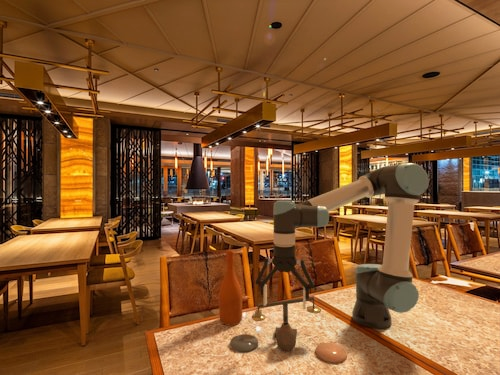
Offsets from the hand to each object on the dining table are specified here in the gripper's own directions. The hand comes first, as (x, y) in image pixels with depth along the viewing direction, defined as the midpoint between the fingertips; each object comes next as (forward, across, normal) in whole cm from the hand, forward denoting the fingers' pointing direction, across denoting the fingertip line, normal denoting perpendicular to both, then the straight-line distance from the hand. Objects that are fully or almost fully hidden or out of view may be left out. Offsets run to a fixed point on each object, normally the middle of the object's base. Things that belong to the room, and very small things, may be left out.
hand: (284, 306), depth 97 cm
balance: (+15, 0, -9) cm, 17 cm away
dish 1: (+15, +14, 0) cm, 21 cm away
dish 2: (+15, -16, 0) cm, 21 cm away
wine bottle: (+15, +24, -17) cm, 33 cm away
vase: (+15, 0, 0) cm, 15 cm away
